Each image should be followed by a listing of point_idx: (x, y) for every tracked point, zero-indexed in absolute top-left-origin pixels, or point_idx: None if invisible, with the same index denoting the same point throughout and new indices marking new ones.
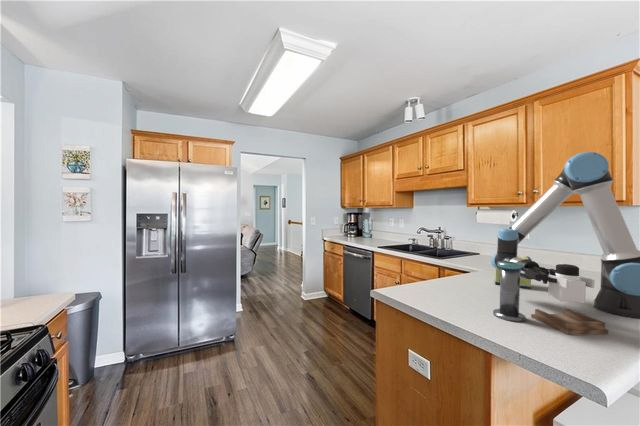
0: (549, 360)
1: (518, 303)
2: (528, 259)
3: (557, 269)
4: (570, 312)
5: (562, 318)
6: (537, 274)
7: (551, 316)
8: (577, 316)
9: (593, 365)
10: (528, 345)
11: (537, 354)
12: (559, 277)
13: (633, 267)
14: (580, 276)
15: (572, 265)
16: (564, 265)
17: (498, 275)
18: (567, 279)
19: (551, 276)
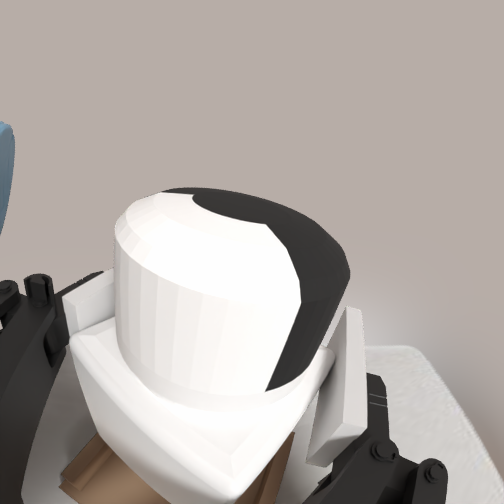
0: (435, 390)
1: None
2: None
3: (329, 322)
4: (90, 468)
5: (153, 495)
6: (445, 476)
7: (276, 494)
8: (109, 448)
9: (381, 365)
10: (438, 430)
11: (442, 405)
12: (357, 345)
13: (4, 140)
14: (99, 275)
15: (232, 193)
16: (320, 226)
17: None
18: (350, 309)
19: (361, 406)
